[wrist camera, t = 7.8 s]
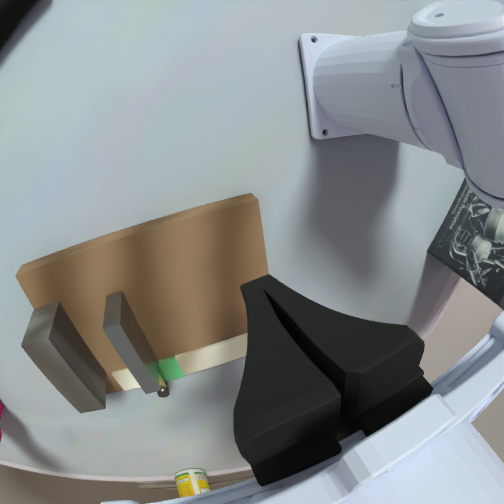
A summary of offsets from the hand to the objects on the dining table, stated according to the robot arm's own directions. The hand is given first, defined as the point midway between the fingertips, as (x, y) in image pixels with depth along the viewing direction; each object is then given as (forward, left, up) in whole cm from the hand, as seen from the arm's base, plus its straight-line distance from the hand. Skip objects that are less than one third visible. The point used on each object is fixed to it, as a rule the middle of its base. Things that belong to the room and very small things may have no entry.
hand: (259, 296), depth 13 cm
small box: (-30, +7, -10) cm, 32 cm away
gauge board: (+6, +6, -9) cm, 13 cm away
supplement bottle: (+15, +42, -10) cm, 46 cm away
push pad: (+8, +7, -7) cm, 13 cm away
